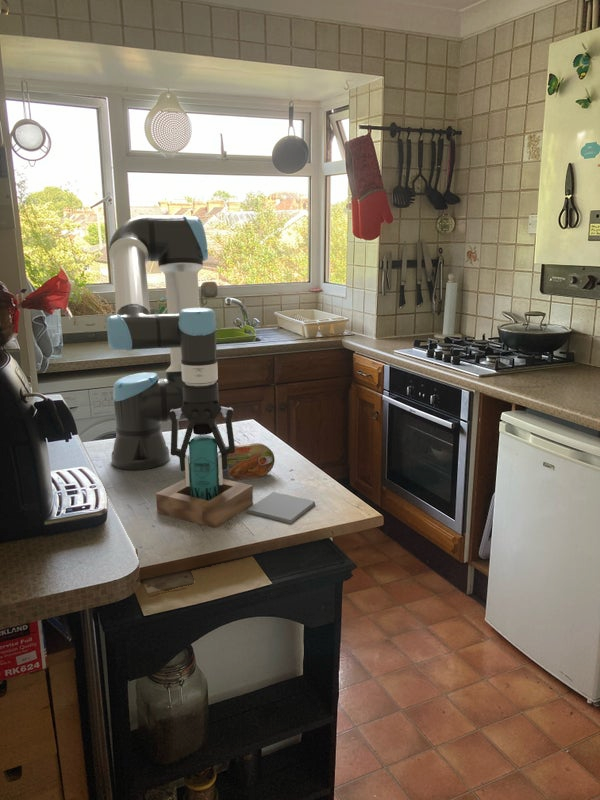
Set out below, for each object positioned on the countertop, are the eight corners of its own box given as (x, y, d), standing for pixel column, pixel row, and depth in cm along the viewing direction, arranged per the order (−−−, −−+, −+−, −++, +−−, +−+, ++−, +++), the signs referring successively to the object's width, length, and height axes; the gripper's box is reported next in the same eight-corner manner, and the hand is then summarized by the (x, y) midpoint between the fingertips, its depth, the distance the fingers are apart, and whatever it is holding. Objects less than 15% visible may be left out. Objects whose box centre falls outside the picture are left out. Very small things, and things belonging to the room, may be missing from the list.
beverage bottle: (188, 504, 144) (184, 419, 138) (217, 500, 146) (214, 417, 140) (192, 516, 138) (188, 428, 132) (223, 512, 140) (219, 425, 134)
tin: (215, 481, 157) (214, 449, 154) (214, 477, 159) (212, 445, 157) (275, 475, 160) (274, 444, 158) (272, 471, 163) (271, 440, 161)
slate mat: (247, 512, 139) (247, 509, 139) (273, 494, 149) (273, 491, 148) (290, 523, 134) (290, 520, 134) (314, 504, 143) (314, 501, 143)
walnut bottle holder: (157, 512, 140) (155, 493, 138) (196, 490, 151) (195, 472, 150) (216, 528, 132) (215, 508, 131) (252, 503, 144) (252, 485, 143)
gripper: (151, 387, 130) (158, 492, 136) (246, 385, 131) (249, 488, 137) (155, 379, 137) (161, 478, 143) (245, 376, 139) (248, 475, 145)
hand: (204, 483), depth 140 cm, fingers closed on beverage bottle, 6 cm apart
